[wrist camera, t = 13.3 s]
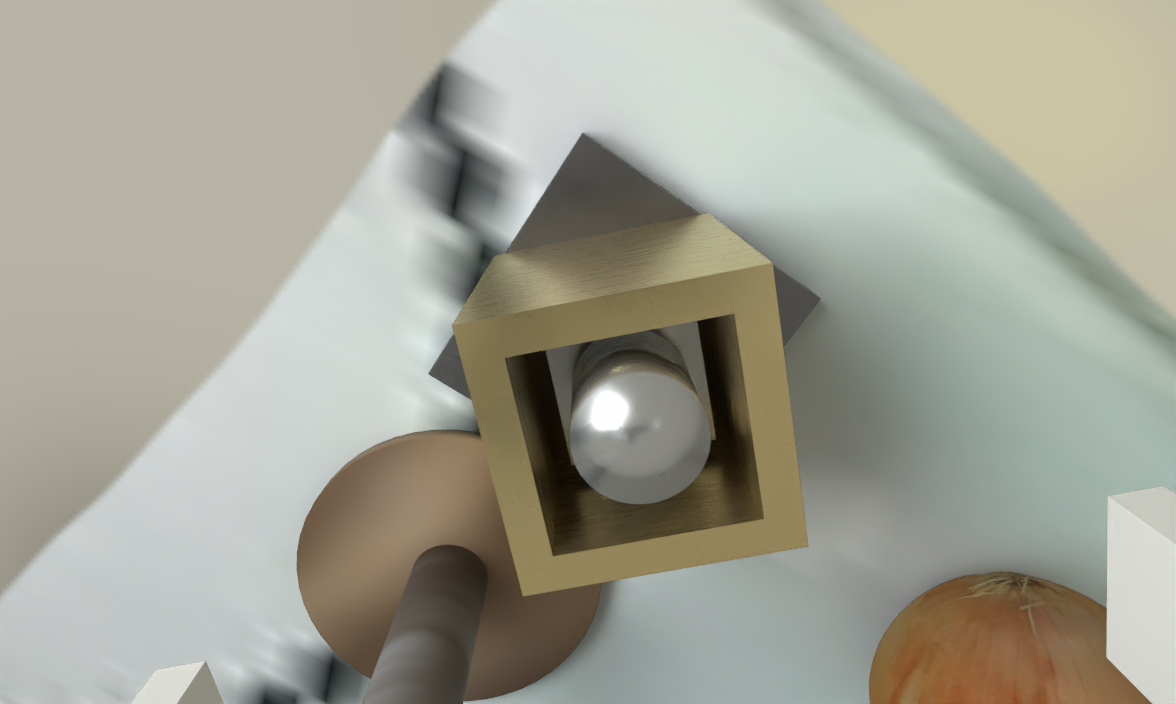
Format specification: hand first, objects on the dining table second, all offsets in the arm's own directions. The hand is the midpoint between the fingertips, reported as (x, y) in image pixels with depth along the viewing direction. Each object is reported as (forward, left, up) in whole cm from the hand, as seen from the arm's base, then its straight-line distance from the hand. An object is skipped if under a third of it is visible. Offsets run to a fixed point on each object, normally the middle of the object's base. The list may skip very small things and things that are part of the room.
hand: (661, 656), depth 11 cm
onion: (+19, -3, -18) cm, 26 cm away
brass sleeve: (0, 0, -17) cm, 17 cm away
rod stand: (0, -12, -18) cm, 21 cm away
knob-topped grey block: (0, 0, -18) cm, 18 cm away
